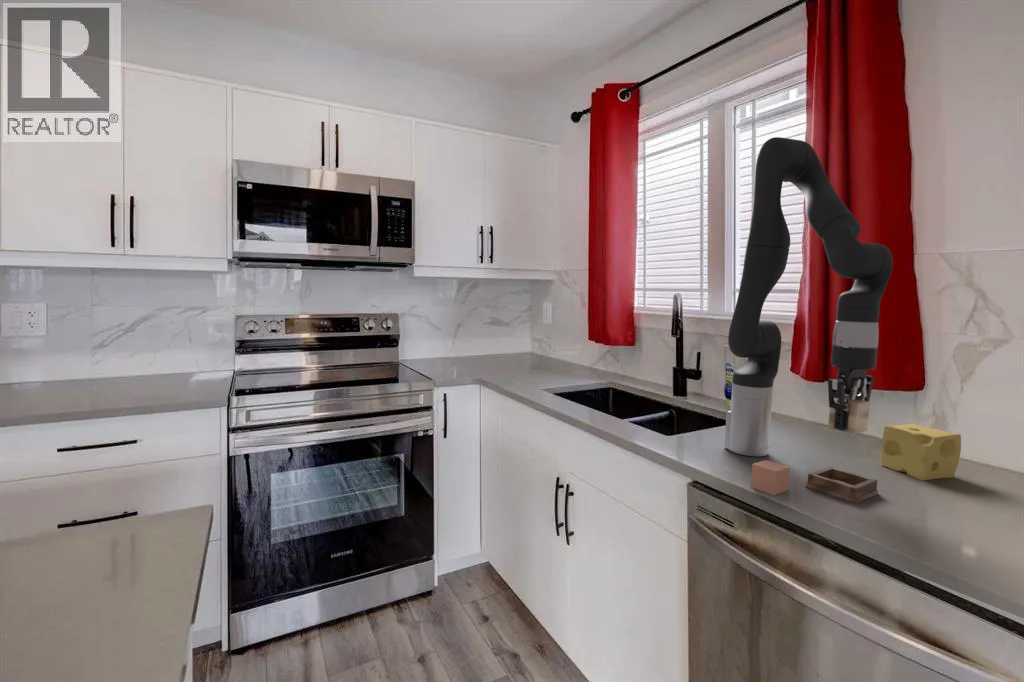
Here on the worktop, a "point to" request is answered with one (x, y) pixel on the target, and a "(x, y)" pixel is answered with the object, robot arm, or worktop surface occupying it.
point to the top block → (770, 477)
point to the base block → (853, 417)
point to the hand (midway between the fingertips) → (847, 427)
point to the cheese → (920, 451)
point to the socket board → (842, 484)
